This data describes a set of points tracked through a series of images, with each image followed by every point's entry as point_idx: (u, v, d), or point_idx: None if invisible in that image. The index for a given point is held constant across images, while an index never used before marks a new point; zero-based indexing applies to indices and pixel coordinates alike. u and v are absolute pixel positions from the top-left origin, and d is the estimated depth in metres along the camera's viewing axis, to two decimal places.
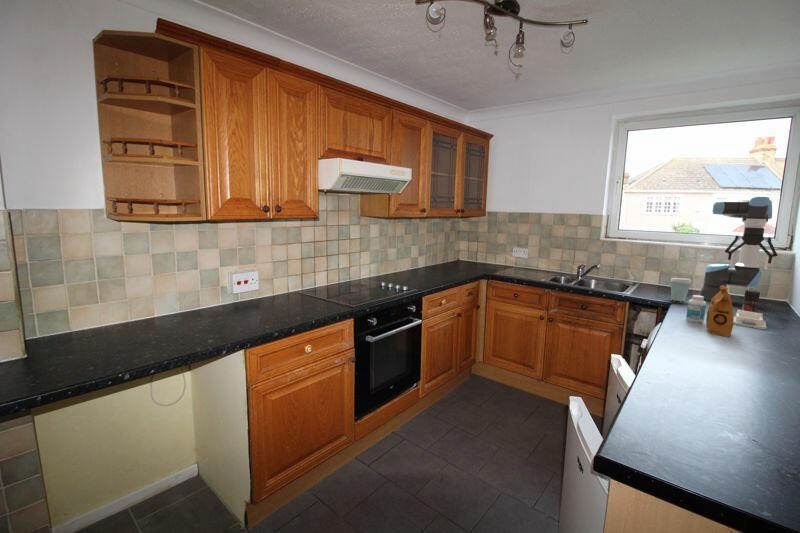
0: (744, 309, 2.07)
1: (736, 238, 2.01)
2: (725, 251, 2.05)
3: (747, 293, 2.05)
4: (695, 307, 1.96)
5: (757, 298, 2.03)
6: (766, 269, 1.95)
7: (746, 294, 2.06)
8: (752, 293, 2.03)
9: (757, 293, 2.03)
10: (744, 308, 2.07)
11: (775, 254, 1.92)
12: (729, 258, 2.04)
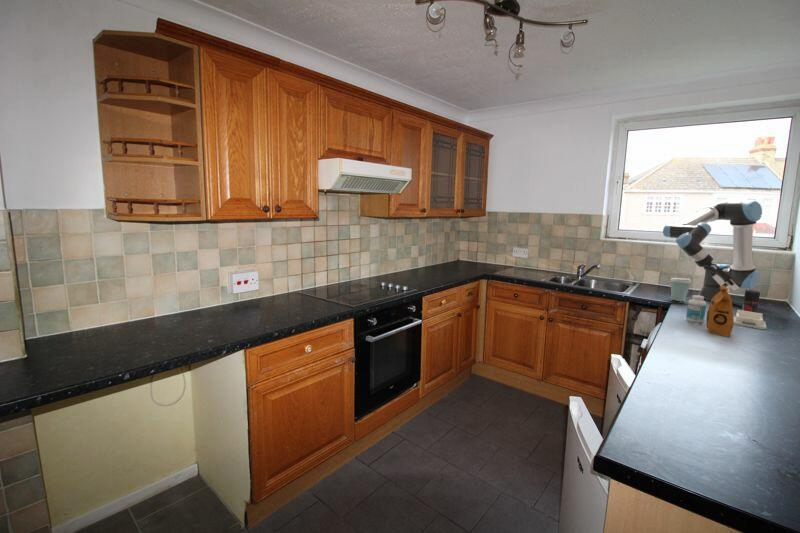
0: (744, 309, 2.07)
1: None
2: (708, 274, 2.18)
3: (747, 293, 2.05)
4: (695, 307, 1.96)
5: (757, 298, 2.03)
6: (733, 290, 2.02)
7: (746, 294, 2.06)
8: (752, 293, 2.03)
9: (757, 293, 2.03)
10: (744, 308, 2.07)
11: (725, 279, 2.00)
12: None
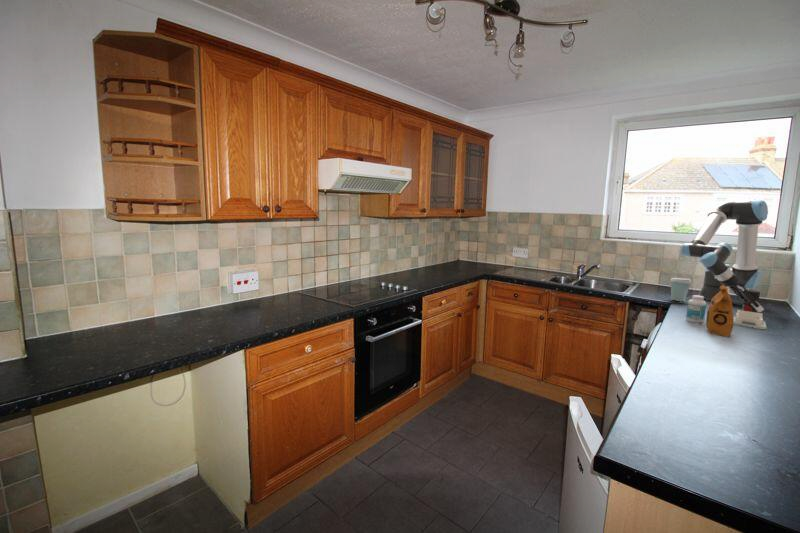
0: (744, 309, 2.07)
1: (728, 286, 2.13)
2: (738, 297, 2.13)
3: None
4: (695, 307, 1.96)
5: (757, 298, 2.03)
6: (759, 312, 2.03)
7: None
8: (752, 293, 2.03)
9: (757, 293, 2.03)
10: (744, 308, 2.07)
11: (750, 301, 2.01)
12: None
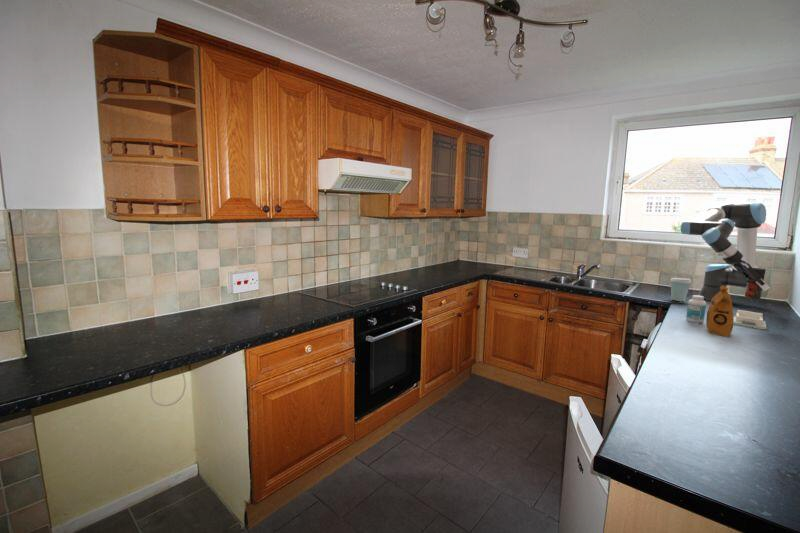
0: (748, 288, 1.95)
1: (732, 264, 2.02)
2: (742, 276, 2.01)
3: None
4: (695, 307, 1.96)
5: (762, 276, 1.92)
6: (764, 290, 1.92)
7: None
8: (757, 270, 1.92)
9: (762, 270, 1.91)
10: (748, 287, 1.95)
11: (755, 279, 1.90)
12: None
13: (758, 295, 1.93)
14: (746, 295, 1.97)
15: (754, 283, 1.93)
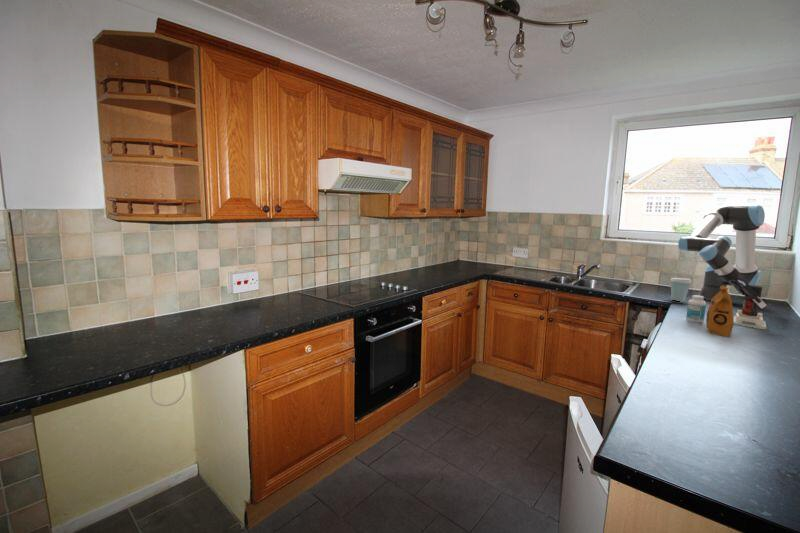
0: (745, 305, 1.97)
1: (729, 281, 2.03)
2: (739, 292, 2.03)
3: None
4: (695, 307, 1.96)
5: (759, 293, 1.93)
6: (761, 308, 1.93)
7: None
8: (754, 288, 1.93)
9: (759, 288, 1.92)
10: (745, 304, 1.97)
11: (752, 297, 1.91)
12: None
13: (755, 312, 1.95)
14: (743, 312, 1.98)
15: (751, 300, 1.94)
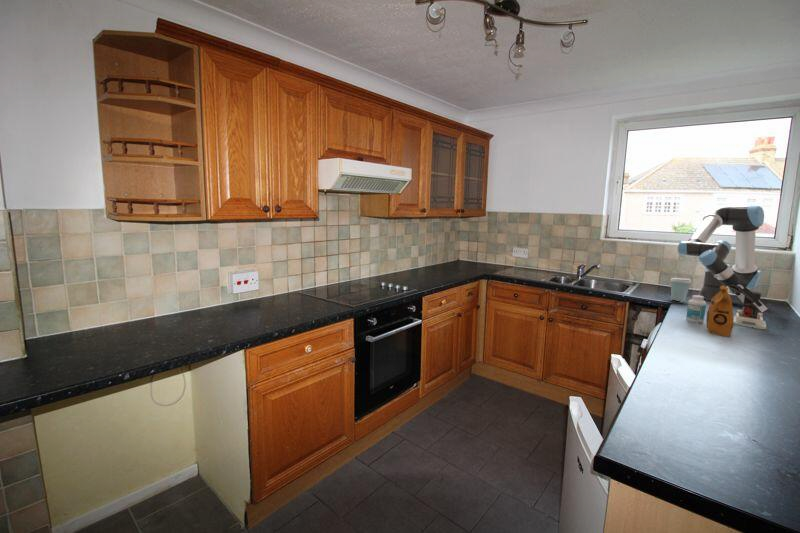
0: (744, 311, 1.97)
1: None
2: None
3: None
4: (695, 307, 1.96)
5: None
6: (762, 311, 1.90)
7: None
8: None
9: (758, 295, 1.93)
10: (744, 310, 1.97)
11: (753, 300, 1.89)
12: None
13: None
14: None
15: (750, 307, 1.95)
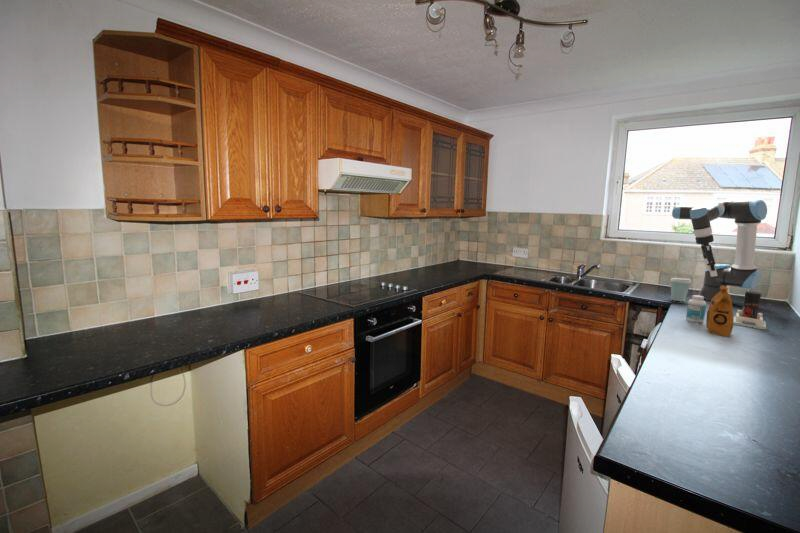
0: (744, 311, 1.97)
1: (701, 244, 2.13)
2: None
3: (747, 295, 1.96)
4: (695, 307, 1.96)
5: (758, 300, 1.94)
6: (710, 276, 2.04)
7: (746, 296, 1.96)
8: (753, 295, 1.94)
9: (758, 295, 1.93)
10: (744, 310, 1.97)
11: (708, 263, 2.01)
12: None
13: None
14: None
15: (750, 307, 1.95)
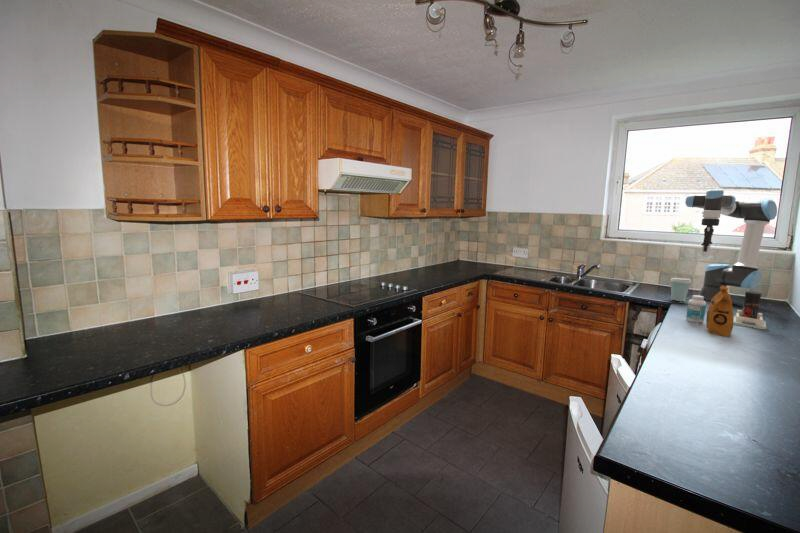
0: (744, 311, 1.97)
1: None
2: None
3: (748, 295, 1.96)
4: (695, 307, 1.96)
5: (758, 300, 1.94)
6: (701, 256, 2.10)
7: (746, 296, 1.96)
8: (753, 295, 1.94)
9: (758, 295, 1.93)
10: (744, 310, 1.97)
11: (703, 242, 2.07)
12: None
13: None
14: None
15: (750, 307, 1.95)
